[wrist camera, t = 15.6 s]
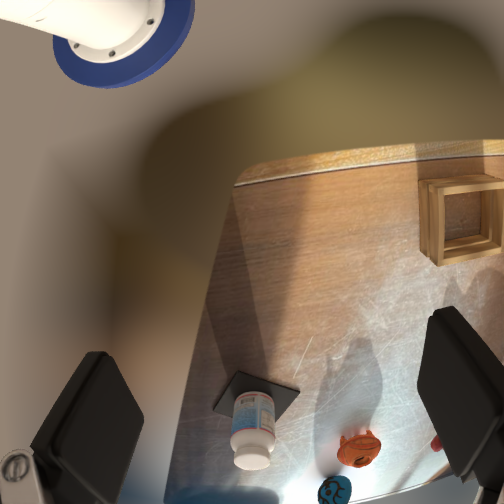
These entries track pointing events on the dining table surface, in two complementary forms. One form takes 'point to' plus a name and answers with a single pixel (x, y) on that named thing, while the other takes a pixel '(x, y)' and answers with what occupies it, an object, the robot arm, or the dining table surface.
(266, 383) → the plate
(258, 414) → the pill bottle
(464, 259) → the crate
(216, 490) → the dining table surface
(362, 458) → the pot
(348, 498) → the ornament
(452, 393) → the robot arm
